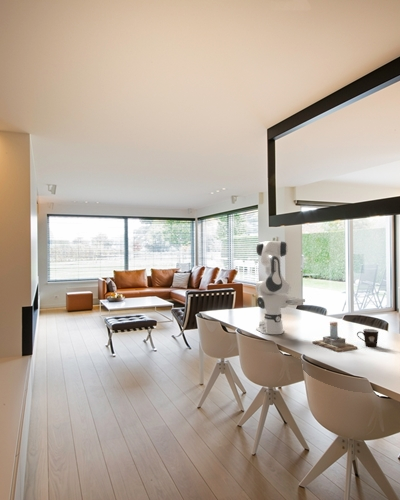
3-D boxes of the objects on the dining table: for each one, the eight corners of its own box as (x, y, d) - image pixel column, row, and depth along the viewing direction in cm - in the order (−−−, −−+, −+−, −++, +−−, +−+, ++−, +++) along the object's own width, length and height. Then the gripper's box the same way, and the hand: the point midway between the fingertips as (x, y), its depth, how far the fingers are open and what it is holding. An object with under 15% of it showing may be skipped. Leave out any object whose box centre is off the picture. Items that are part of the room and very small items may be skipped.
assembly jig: (312, 343, 223) (312, 335, 223) (330, 340, 229) (330, 332, 230) (338, 352, 203) (337, 343, 203) (357, 348, 209) (357, 340, 209)
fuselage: (328, 343, 217) (328, 321, 218) (334, 342, 219) (333, 321, 219) (334, 345, 213) (333, 323, 213) (339, 344, 215) (338, 322, 215)
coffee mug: (380, 346, 215) (380, 330, 215) (375, 348, 209) (375, 332, 209) (361, 342, 223) (361, 327, 223) (356, 345, 217) (356, 329, 217)
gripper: (292, 297, 202) (310, 296, 207) (271, 294, 220) (289, 292, 226) (292, 308, 201) (310, 306, 207) (272, 303, 220) (289, 302, 226)
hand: (299, 299), depth 217 cm, fingers open, 8 cm apart
